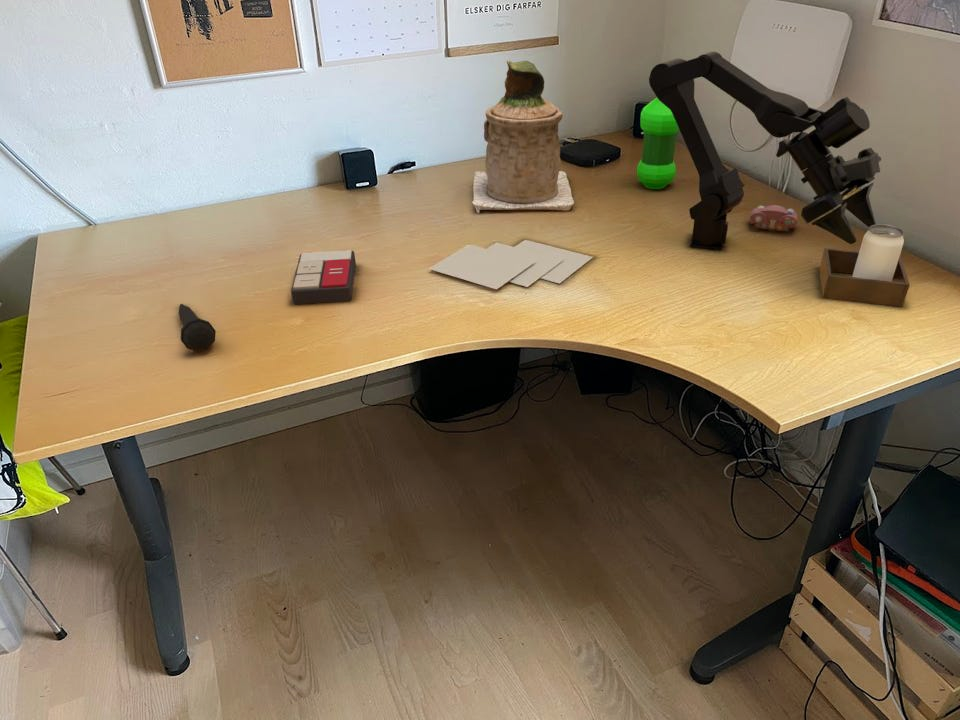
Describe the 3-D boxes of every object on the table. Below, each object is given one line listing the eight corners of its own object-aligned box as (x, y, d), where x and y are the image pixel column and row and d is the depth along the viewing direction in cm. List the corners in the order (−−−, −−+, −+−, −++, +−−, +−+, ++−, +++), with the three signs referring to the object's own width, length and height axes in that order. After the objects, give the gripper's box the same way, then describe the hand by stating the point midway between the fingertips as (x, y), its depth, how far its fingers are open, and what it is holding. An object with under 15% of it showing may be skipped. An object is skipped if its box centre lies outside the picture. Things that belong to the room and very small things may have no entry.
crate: (822, 297, 132) (828, 275, 130) (819, 268, 142) (824, 248, 139) (902, 307, 128) (909, 284, 126) (893, 277, 138) (900, 255, 135)
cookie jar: (575, 211, 170) (582, 68, 152) (471, 214, 170) (466, 72, 153) (566, 176, 190) (571, 46, 173) (473, 178, 191) (469, 49, 173)
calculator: (289, 287, 134) (299, 250, 146) (293, 307, 136) (303, 268, 149) (348, 284, 134) (353, 246, 146) (351, 303, 137) (356, 265, 149)
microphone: (177, 325, 137) (196, 362, 121) (159, 301, 134) (176, 336, 118) (202, 309, 138) (225, 344, 123) (185, 285, 135) (206, 318, 119)
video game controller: (746, 233, 160) (750, 212, 154) (749, 218, 162) (753, 196, 156) (793, 239, 157) (799, 217, 151) (796, 223, 159) (802, 201, 153)
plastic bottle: (625, 186, 183) (634, 83, 169) (650, 175, 189) (660, 75, 175) (658, 196, 177) (670, 90, 163) (683, 184, 182) (696, 81, 169)
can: (891, 300, 131) (911, 238, 124) (853, 297, 132) (870, 236, 125) (882, 283, 136) (901, 224, 129) (845, 281, 137) (862, 222, 130)
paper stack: (493, 231, 161) (493, 228, 161) (593, 257, 149) (593, 254, 148) (428, 271, 146) (428, 268, 145) (533, 303, 133) (533, 300, 133)
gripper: (835, 149, 119) (887, 229, 118) (876, 124, 130) (924, 197, 129) (779, 185, 128) (828, 259, 127) (822, 159, 139) (867, 227, 138)
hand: (863, 234), depth 130 cm, fingers open, 9 cm apart
